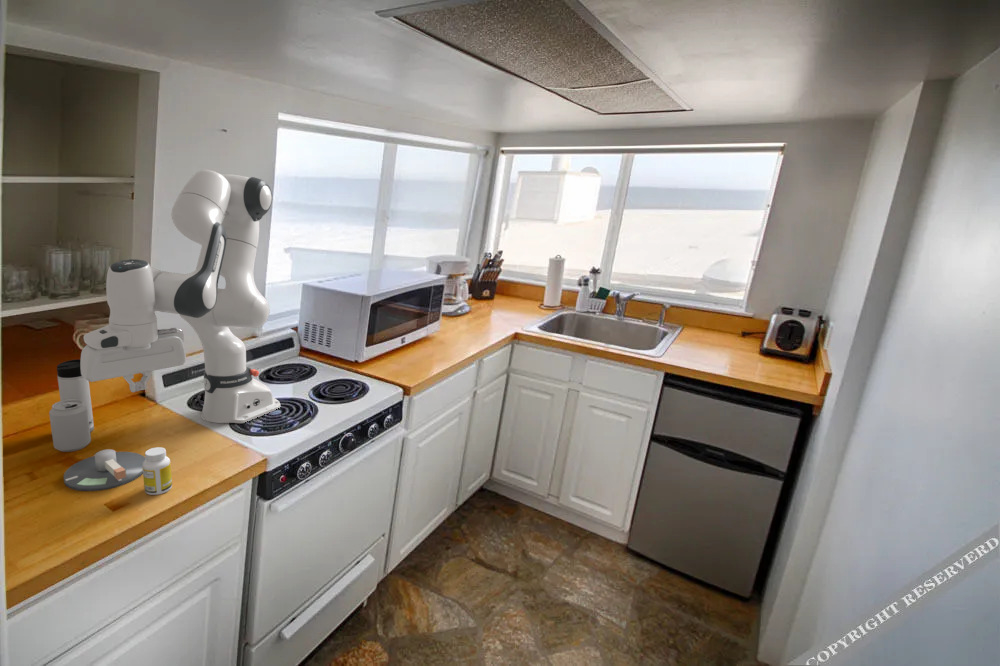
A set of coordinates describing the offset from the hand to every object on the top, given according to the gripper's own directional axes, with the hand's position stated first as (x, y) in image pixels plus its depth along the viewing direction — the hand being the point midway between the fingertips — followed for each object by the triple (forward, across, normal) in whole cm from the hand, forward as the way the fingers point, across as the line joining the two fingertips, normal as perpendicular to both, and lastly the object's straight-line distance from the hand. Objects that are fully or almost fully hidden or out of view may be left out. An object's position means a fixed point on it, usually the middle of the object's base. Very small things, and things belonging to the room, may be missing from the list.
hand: (138, 390), depth 122 cm
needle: (+20, +6, -3) cm, 21 cm away
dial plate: (+22, +6, -6) cm, 23 cm away
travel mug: (+22, +3, -33) cm, 40 cm away
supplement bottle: (+22, +1, +9) cm, 24 cm away
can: (+22, +7, -25) cm, 34 cm away
